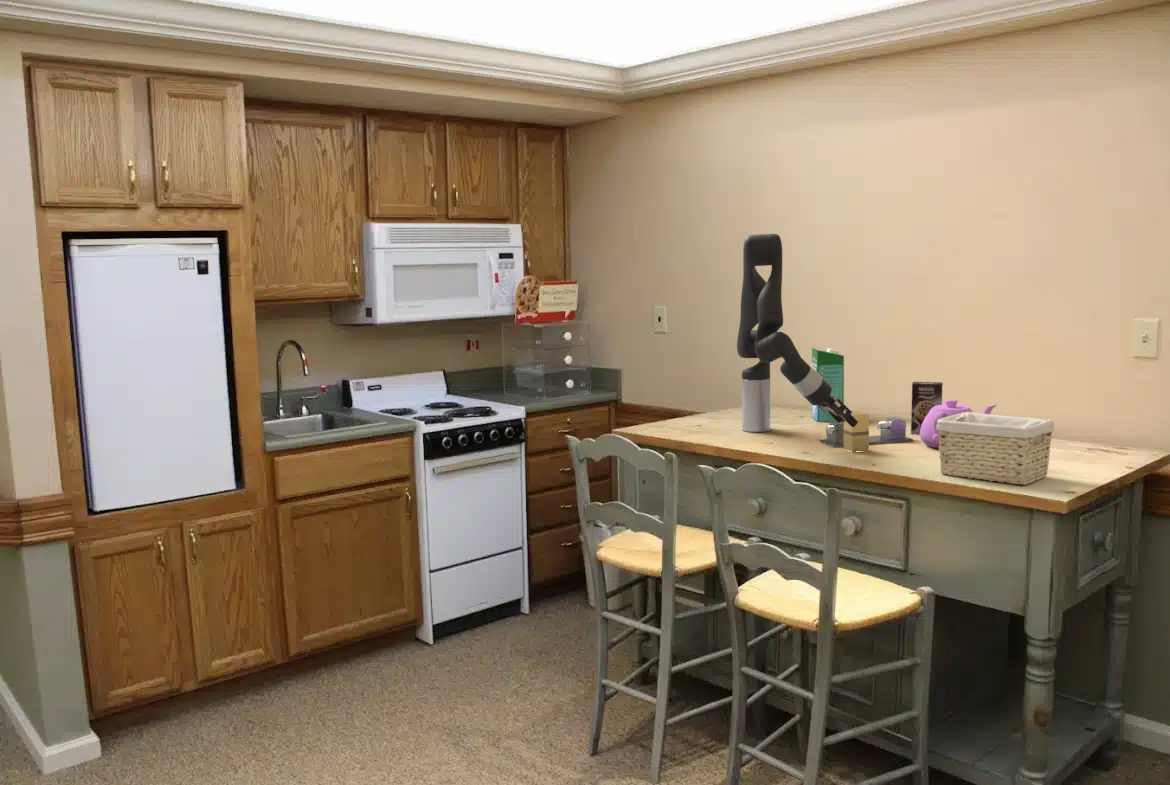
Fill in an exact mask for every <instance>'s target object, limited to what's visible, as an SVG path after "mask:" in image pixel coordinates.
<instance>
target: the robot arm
mask: <svg viewBox="0 0 1170 785" xmlns="http://www.w3.org/2000/svg"><path fill="white" fill-rule="evenodd" d="M742 253H743V257H742V258H743V260H742V261H743V262H742V264H743V265H742V266H743V270H742V272H743V274H742V275H743V277H742V287H741V294H740V296H741V297H740V316H739V318H740V319H739V327H738V333H737V341H736V350H737V354H738V356H739V357H740V358H742V359H758V360H759V361H758V362H757V363H756V364H754V365H752V366H750V367H746V368H745V369H743V370H742V372H741V398H742V400H741V402H742V403H741V404H742V406H741V408H742V409H741V410H742V415H741V416H742V417H741V418H742V419H741V420H742V421H741V422H742V424H741V425H742V428H741V429H742V431H744V432H748V433H749V432H751V433H760V432H761V433H763V432H768V431H771V363H772V362H774V361H776V360H778V359H781V358H782V359H783V362H782V363H781V365H780V367H779V370H780V373H781V374H782V376H784V377H785V378H786V379H787V381H789V383H791V384H792V385H793V388H795V389H796V390H797V391H798V392H799V393H800V395H801V396H802V397H804V399H806V400H807V401H808V403H810V404H811V406H812V405H818V406H819V407H820V408H821V409H822V410H823V412H825V413H826V412H827V414H829V415H830V414H831V416H832V417H833V418H834V419H835V420H836V421H837V422H838V423H840V422H843V421H842V420H843V419H844V420H845V421H846V422H847V423H848V424H849V425H850V426H851V427H855V426H856V424H857V423H858V421H857V420H856V419H855V418H854V417H853V416H852V415H851V413H852V412H853V411H852V410H850V409H849V408H848V406H846V404H845V403H844V404H843V403H842V402H841V401H840V400H839V399H836V398H835V397H831V396H830V395H831V392H832V387H831V386H830V385H829V384H828V383H827V382H826V381H825V380H824V379H823V378H822V377H821V376H820V375H819V374H818V373H817V372H816V371H815V370H814V369H812V366H810V365H809V363H807V362H806V361H805V360H804V359H803V358H802V356H801V355H800V353H799V351H798V349H797V347H796V346H795V344H794V342H793V341H792V338H791V337H790V336H789V335H788V334H786V333H784V332H782V331H779V330H780V329H781V328H782V327H783V326H784V313H783V300H782V299H783V298H782V289H783V288H782V285H783V241H782V239H781V237H780V235H779V234H778V233H759V234H750V235H748V236H746V237H745V238H744V242H743V252H742ZM766 266H771V270H770V275H769V277H768V280H767V281H766V280H765V279H764V278H763V277H762V276H761V275H760V273H759V272H758V270H757V269H756V267H766ZM756 326H757V328H756V329H754V328H755V327H756ZM843 411H844V413H845V414H844V413H843Z"/></svg>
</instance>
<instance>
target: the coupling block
mask: <svg viewBox="0 0 1170 785" xmlns="http://www.w3.org/2000/svg"><path fill="white" fill-rule="evenodd" d="M851 412H852V413H851V415H852V416H853V417H854V418H855V419H856V420H857V421H858V423H857V424H856V426H855V427H851V426H850V425H849V424H848V423H847V422H846V421H845V420H844V421H843V423H844V430H843V433H844V447H843V450H844V449H846V450H849V451H852V452H856V451H869V450H870V449H869V448H870V447H869V446H870V445H869V436H870V427H869V426H870V423H869V422H870V414H869V413H866V412H862V411H851ZM844 414H845V412H844ZM846 450H845V451H846ZM869 452H870V451H869Z"/></svg>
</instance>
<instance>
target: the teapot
mask: <svg viewBox="0 0 1170 785" xmlns="http://www.w3.org/2000/svg"><path fill="white" fill-rule="evenodd" d="M944 402H945V404H942V405H937V406H934V407H933V408H932V409H931V410H930V411H929V413H928V414H927V416H926V417H925V419H924V421H923V423H922V426H921V429H920V434H919V437H920V439H921V440H922V442H923V443H924V444H925V445H926V446H928V447H930V448H932V449H933V448H934V449H935V448H937V449H939V445H940V444H939V433H938V430H937V429H936V426H937V420H938V419H942V418H945V417H948V416H952V415H956V414H960V413H963V412H964V413H965V412H972V413H974V412H973V410H972V409H971V407H969V406H967V405H963V404H958V399H945V400H944ZM997 406H998V404H992V405H989V406H986V407H985V408H984V409H983V412H982V414H991V413H992V411H993V409H995V407H997Z"/></svg>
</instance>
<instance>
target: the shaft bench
mask: <svg viewBox="0 0 1170 785" xmlns="http://www.w3.org/2000/svg"><path fill="white" fill-rule="evenodd" d="M906 427H907V422H906V420H904V419H902V418H900V417H896V416H894V417H886V419H885V421H879V422H877V424H876V429H877V430H878V431H880V434H878V435H869V446H871V445H872V446H873V445H884V444H897V443H909V442H910V443H911V442H913V440H914V439H913V438H911V437H907V436H906V431H907V430H906ZM843 430H844V421H841V422H840V423H838V422H837V421H829V425H826V426H825V433H826V438H825V439H820V440H819V443H820V442H822V443H821V444H823V443H825V444H824V445H826V444H827V445H826V446H828V445H830V446H829V447H831V446H833V447H834V448H840V447H839V446H844V433H843ZM833 447H832V448H833Z"/></svg>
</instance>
